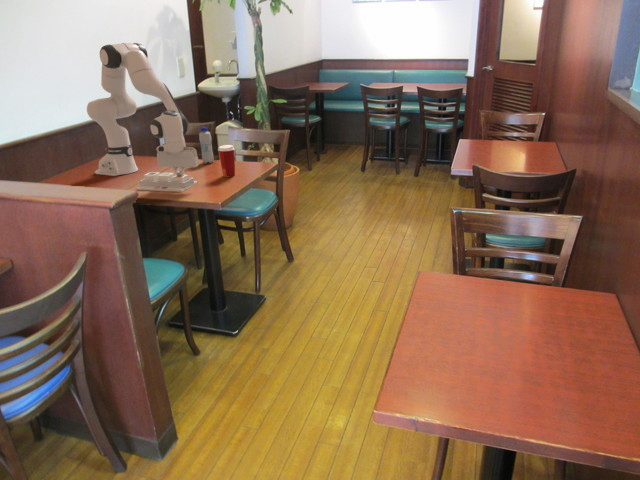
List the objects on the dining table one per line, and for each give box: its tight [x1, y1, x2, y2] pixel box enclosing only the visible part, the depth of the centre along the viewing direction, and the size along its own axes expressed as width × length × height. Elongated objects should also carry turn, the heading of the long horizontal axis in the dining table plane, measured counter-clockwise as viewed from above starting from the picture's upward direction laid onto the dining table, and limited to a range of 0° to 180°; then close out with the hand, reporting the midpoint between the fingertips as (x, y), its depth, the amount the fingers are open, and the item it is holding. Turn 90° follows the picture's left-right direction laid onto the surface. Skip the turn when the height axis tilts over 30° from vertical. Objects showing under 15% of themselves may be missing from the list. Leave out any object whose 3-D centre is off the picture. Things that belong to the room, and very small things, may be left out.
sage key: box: [158, 172, 175, 182], centre depth 244 cm, size 6×6×3 cm
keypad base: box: [136, 177, 198, 193], centre depth 245 cm, size 24×15×4 cm, turn 74°
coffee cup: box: [217, 144, 236, 178], centre depth 256 cm, size 8×8×15 cm
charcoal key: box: [143, 171, 162, 181], centre depth 246 cm, size 6×6×3 cm
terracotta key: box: [172, 174, 190, 182], centre depth 242 cm, size 6×6×3 cm
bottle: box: [198, 126, 214, 164], centre depth 283 cm, size 7×7×20 cm
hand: (180, 175), depth 241 cm, fingers closed, pressing on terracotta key
